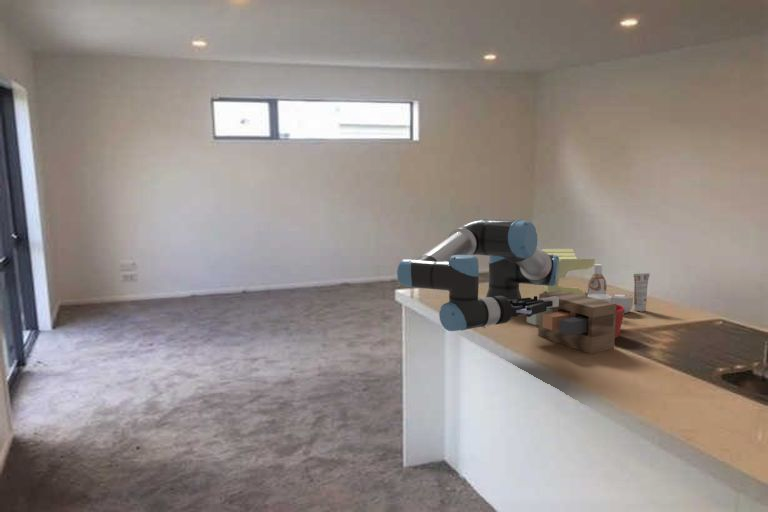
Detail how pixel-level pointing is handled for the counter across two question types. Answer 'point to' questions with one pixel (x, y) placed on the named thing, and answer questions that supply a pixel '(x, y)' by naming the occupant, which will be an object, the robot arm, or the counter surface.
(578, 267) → the slatted curved stool
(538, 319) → the sage key
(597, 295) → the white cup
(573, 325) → the slate key
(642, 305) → the cosmetic set
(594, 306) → the box
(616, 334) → the flower pot
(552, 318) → the rust key
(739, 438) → the counter surface
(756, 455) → the counter surface
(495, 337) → the counter surface
